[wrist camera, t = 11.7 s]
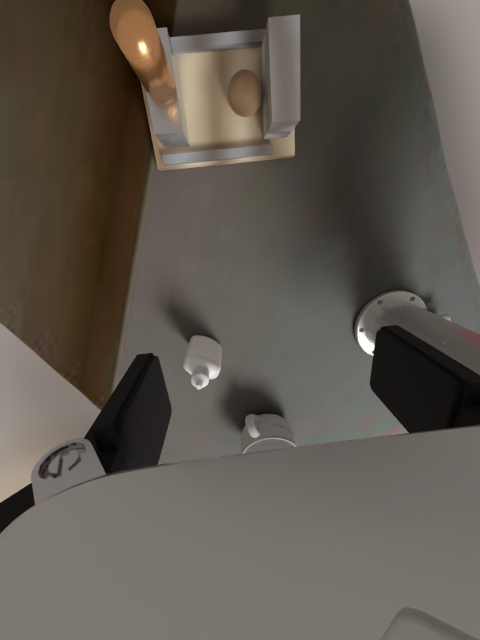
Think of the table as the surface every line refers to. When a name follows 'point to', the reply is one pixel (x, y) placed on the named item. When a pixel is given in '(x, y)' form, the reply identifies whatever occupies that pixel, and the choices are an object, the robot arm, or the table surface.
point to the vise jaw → (152, 68)
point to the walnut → (244, 93)
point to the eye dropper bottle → (202, 360)
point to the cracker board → (212, 100)
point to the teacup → (266, 433)
